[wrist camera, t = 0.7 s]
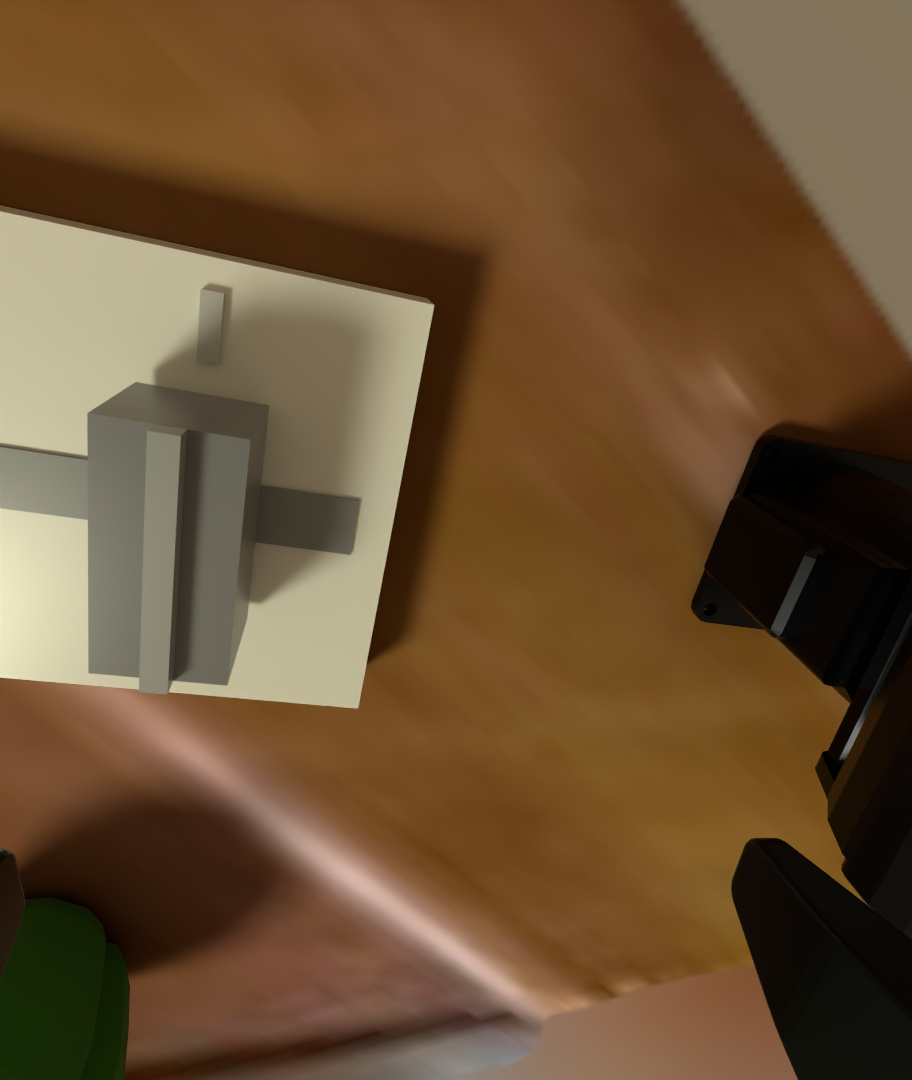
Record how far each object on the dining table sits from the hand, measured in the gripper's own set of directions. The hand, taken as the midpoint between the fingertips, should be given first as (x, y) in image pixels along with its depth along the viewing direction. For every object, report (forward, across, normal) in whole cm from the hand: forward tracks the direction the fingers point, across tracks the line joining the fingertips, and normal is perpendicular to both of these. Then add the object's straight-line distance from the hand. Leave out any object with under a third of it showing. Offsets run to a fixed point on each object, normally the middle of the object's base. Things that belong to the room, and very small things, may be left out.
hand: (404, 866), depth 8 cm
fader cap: (+10, +5, 0) cm, 11 cm away
